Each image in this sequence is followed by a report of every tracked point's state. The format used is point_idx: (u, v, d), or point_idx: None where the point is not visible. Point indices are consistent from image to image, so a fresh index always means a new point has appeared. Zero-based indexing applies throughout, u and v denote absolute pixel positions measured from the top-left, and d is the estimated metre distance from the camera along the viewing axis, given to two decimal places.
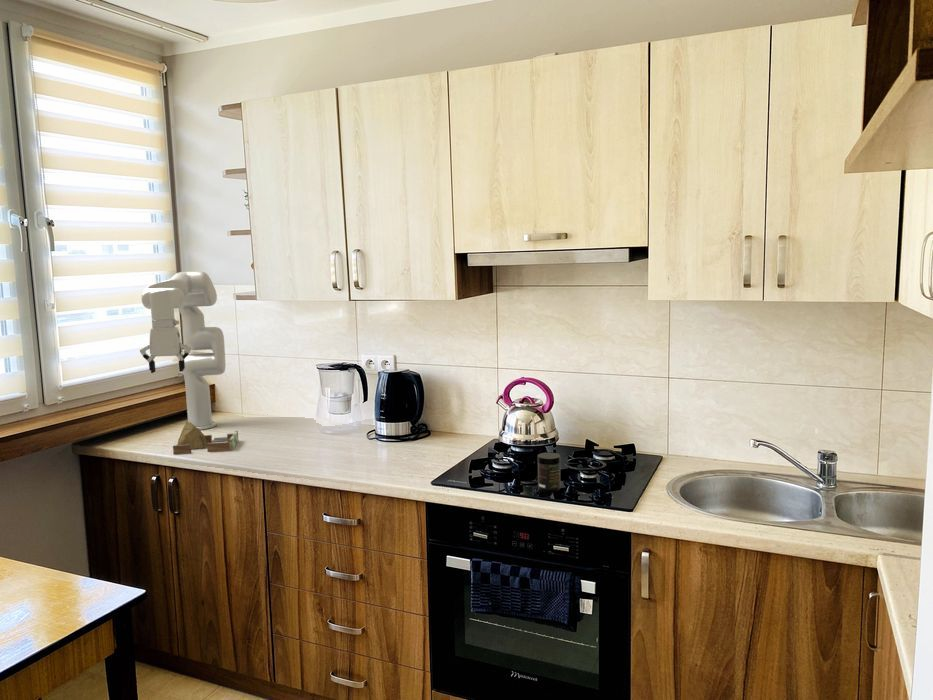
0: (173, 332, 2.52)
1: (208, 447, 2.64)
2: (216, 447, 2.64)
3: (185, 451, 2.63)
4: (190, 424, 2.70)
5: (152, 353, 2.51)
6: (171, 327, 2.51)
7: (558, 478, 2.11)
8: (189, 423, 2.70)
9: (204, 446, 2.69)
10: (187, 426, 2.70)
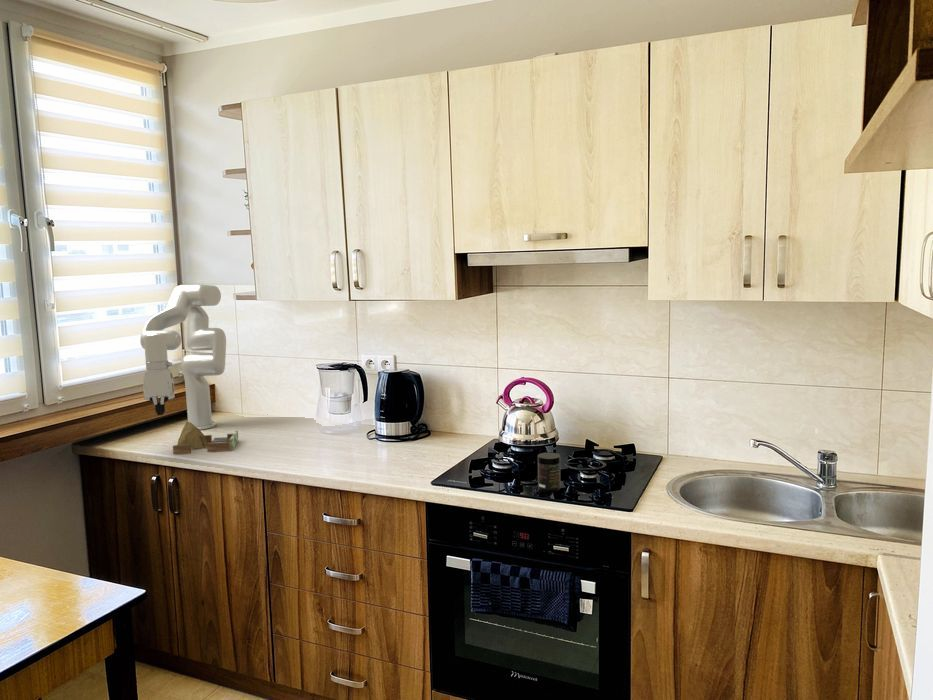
0: (166, 373, 2.62)
1: (208, 447, 2.64)
2: (216, 447, 2.64)
3: (185, 451, 2.63)
4: (190, 424, 2.69)
5: (146, 394, 2.62)
6: (164, 369, 2.62)
7: (558, 478, 2.11)
8: (189, 423, 2.70)
9: (204, 446, 2.69)
10: (187, 426, 2.70)
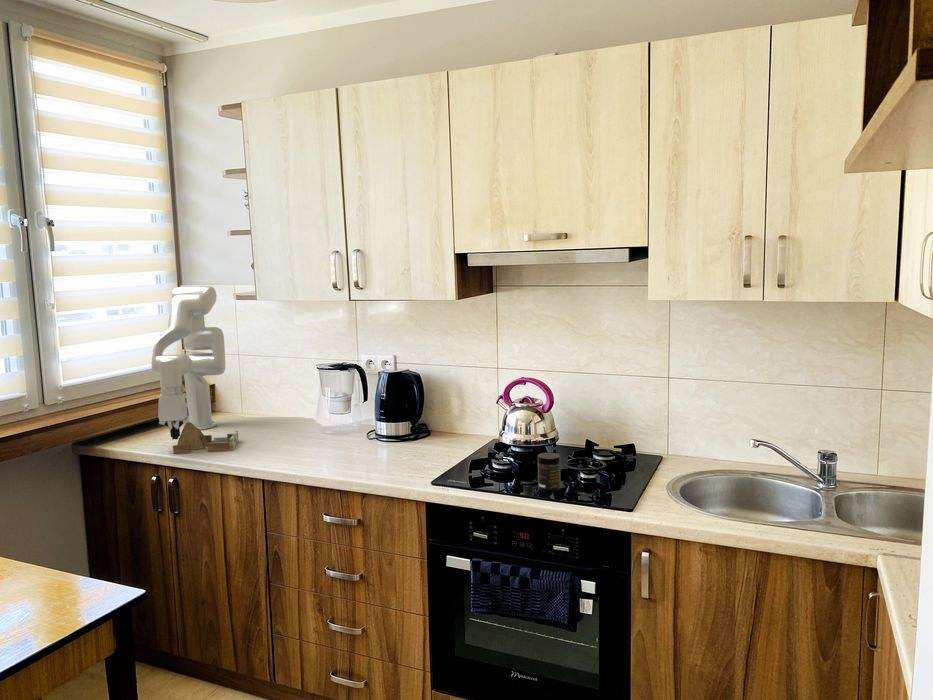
0: (181, 398, 2.65)
1: (208, 447, 2.64)
2: (216, 447, 2.64)
3: (185, 451, 2.63)
4: (190, 424, 2.70)
5: (161, 418, 2.64)
6: (179, 394, 2.64)
7: (558, 478, 2.11)
8: (189, 423, 2.70)
9: (204, 446, 2.69)
10: (187, 426, 2.70)
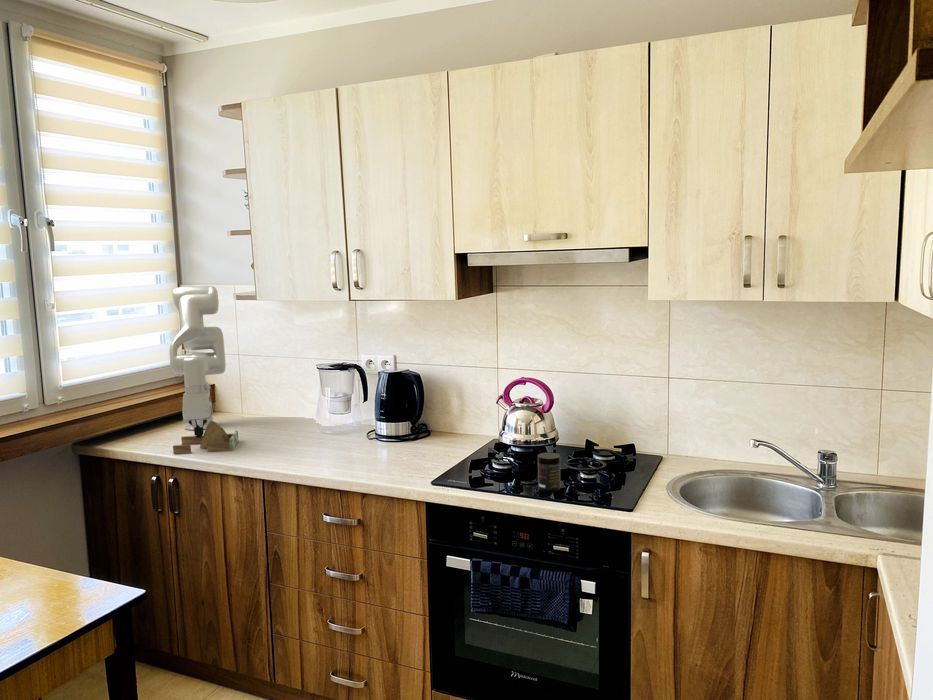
0: (205, 397, 2.66)
1: (208, 447, 2.64)
2: (216, 447, 2.64)
3: (185, 451, 2.63)
4: (213, 423, 2.70)
5: (185, 417, 2.66)
6: (203, 392, 2.65)
7: (558, 478, 2.11)
8: (212, 422, 2.71)
9: None
10: (210, 425, 2.71)
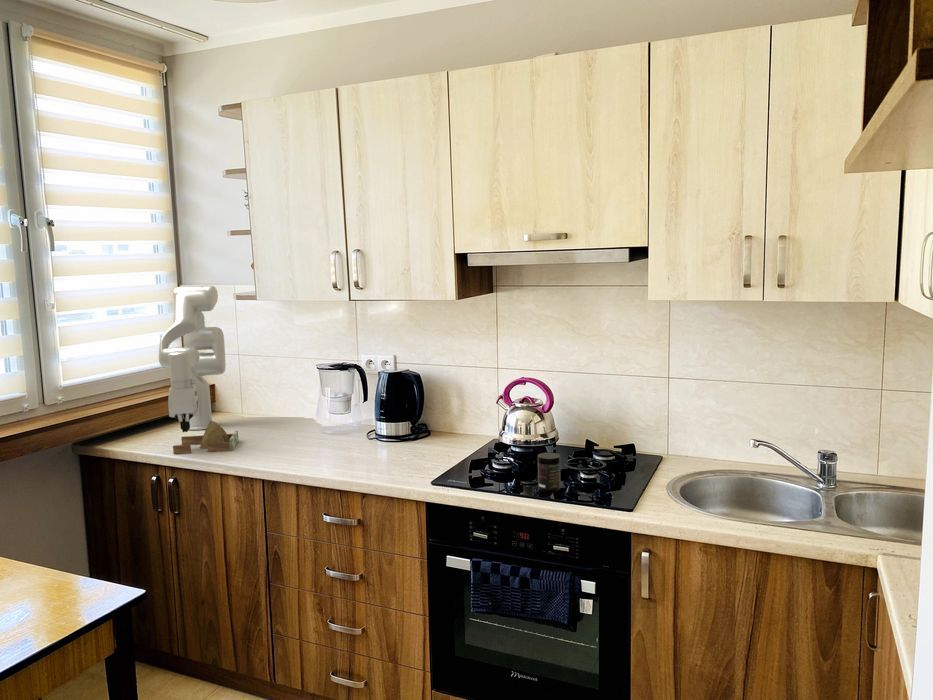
0: (191, 392, 2.65)
1: (208, 447, 2.64)
2: (216, 447, 2.64)
3: (185, 451, 2.63)
4: (213, 423, 2.70)
5: (171, 411, 2.65)
6: (189, 387, 2.65)
7: (558, 478, 2.11)
8: (213, 422, 2.71)
9: None
10: (210, 425, 2.71)
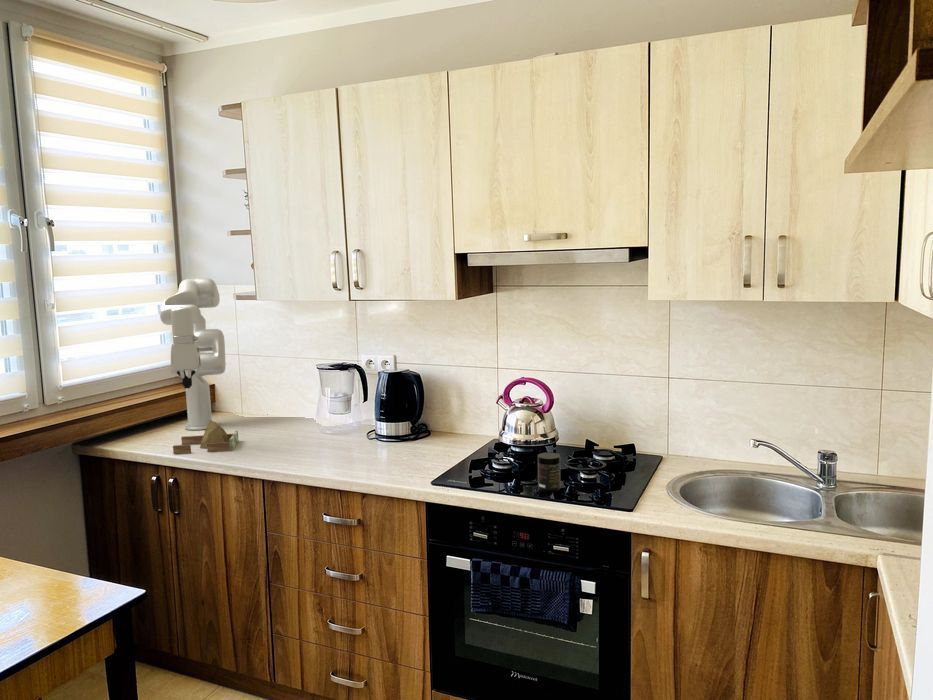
0: (193, 347, 2.65)
1: (208, 447, 2.64)
2: (216, 447, 2.64)
3: (185, 451, 2.63)
4: (213, 423, 2.70)
5: (173, 367, 2.65)
6: (191, 343, 2.65)
7: (558, 478, 2.11)
8: (213, 422, 2.71)
9: None
10: (210, 425, 2.71)
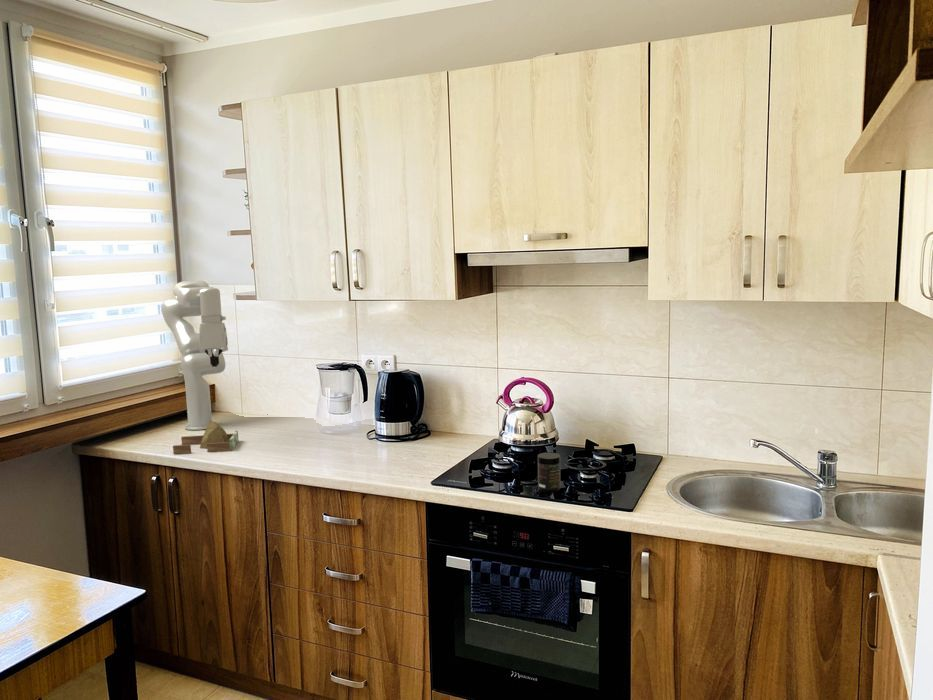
0: (220, 327, 2.76)
1: (208, 447, 2.64)
2: (216, 447, 2.64)
3: (185, 451, 2.63)
4: (213, 423, 2.70)
5: (201, 346, 2.76)
6: (219, 322, 2.76)
7: (558, 478, 2.11)
8: (213, 422, 2.71)
9: None
10: (210, 425, 2.71)
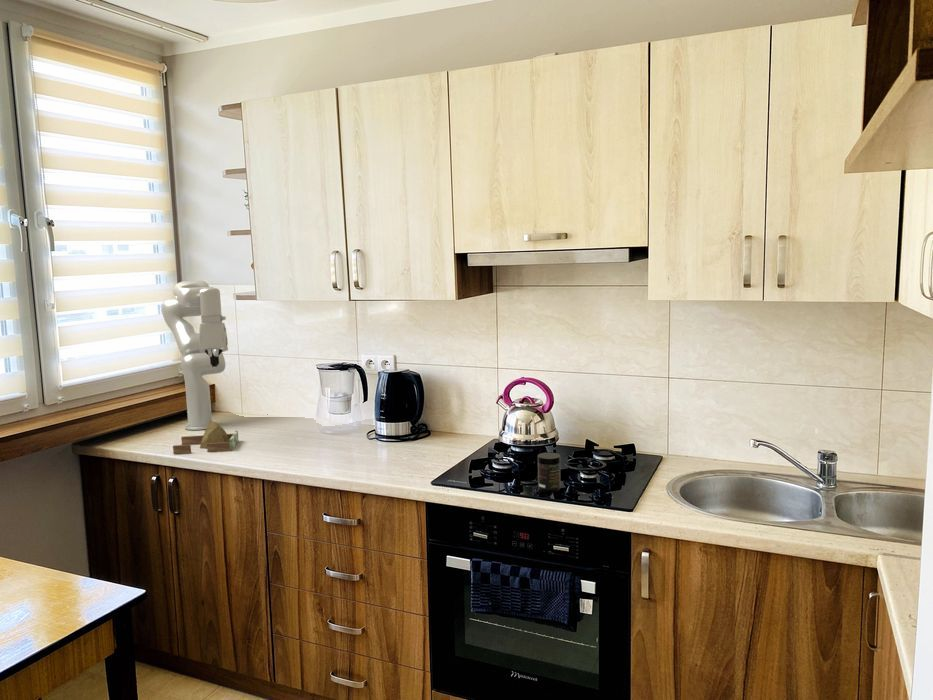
0: (220, 327, 2.76)
1: (208, 447, 2.64)
2: (216, 447, 2.64)
3: (185, 451, 2.63)
4: (213, 423, 2.70)
5: (201, 346, 2.76)
6: (219, 322, 2.76)
7: (558, 478, 2.11)
8: (213, 422, 2.71)
9: None
10: (210, 425, 2.71)
